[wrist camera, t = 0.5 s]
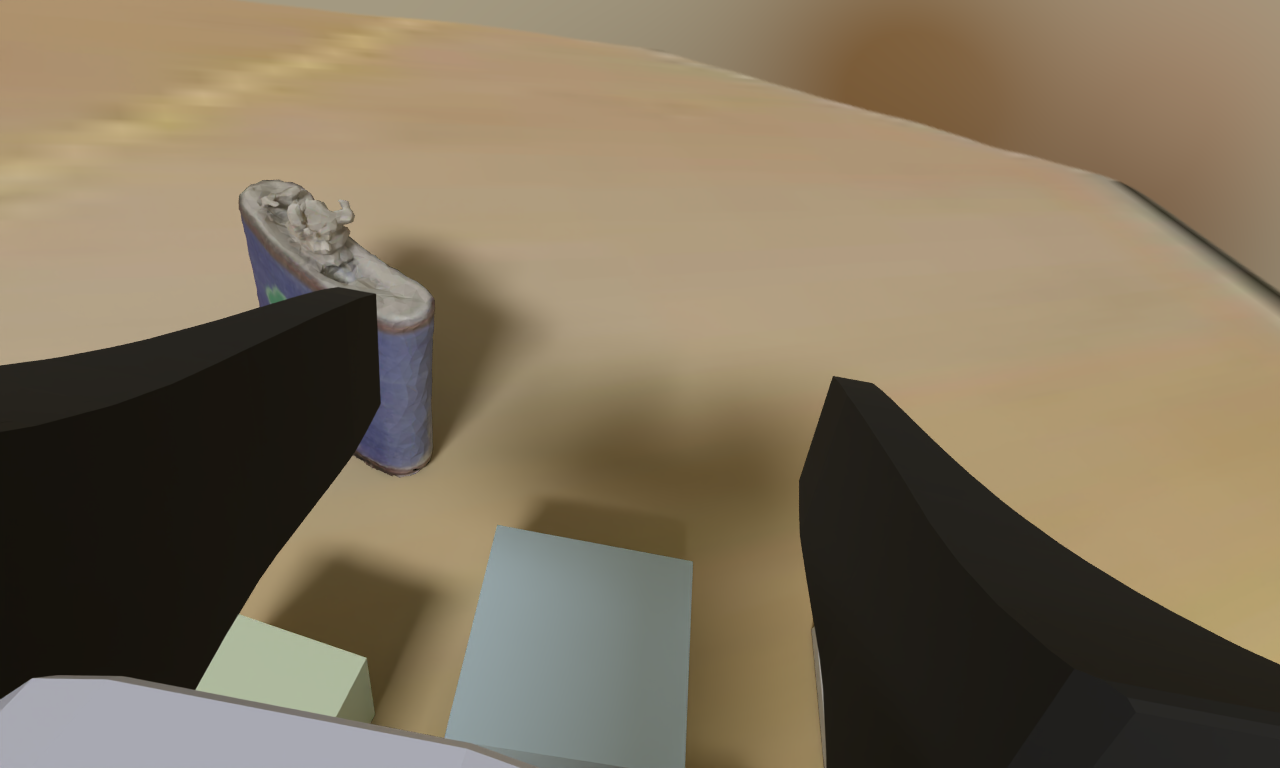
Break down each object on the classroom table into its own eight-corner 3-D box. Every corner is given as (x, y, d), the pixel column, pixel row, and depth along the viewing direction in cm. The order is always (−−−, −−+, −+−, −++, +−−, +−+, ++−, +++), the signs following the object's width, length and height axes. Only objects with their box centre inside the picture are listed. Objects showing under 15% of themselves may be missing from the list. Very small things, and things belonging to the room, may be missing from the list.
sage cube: (289, 891, 21) (261, 860, 17) (122, 834, 21) (59, 790, 17) (375, 715, 24) (366, 657, 21) (231, 666, 24) (198, 600, 21)
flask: (445, 456, 31) (452, 260, 23) (388, 497, 29) (375, 300, 22) (308, 335, 34) (272, 123, 26) (248, 365, 32) (190, 148, 24)
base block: (653, 807, 24) (684, 776, 21) (441, 776, 24) (443, 739, 21) (666, 609, 29) (692, 561, 26) (489, 577, 28) (497, 524, 25)
